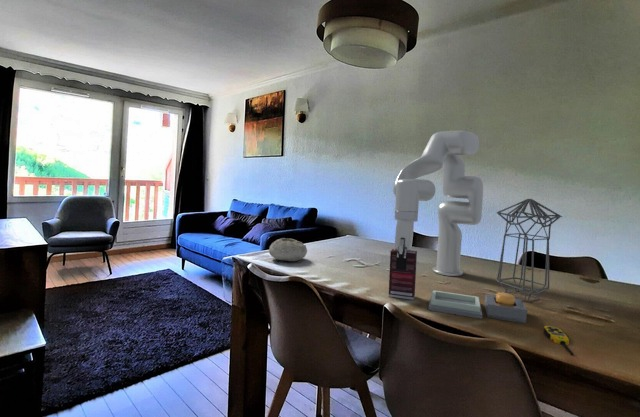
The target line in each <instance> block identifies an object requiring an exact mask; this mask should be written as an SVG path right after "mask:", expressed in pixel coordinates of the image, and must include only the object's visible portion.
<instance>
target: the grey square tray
mask: <svg viewBox="0 0 640 417" xmlns="http://www.w3.org/2000/svg"><path fill="white" fill-rule="evenodd" d="M429 299H430V300H429V303H428V311H433V312H438V313H445V314H451V315H455V314H456V315H455V316H461V317H469V318H473V319H479V320H482V319H483V312H482V306H481V302H480V297H479V296H476V295H469V294H461V293H456V292H448V291H441V290H434V289H433V290H432V292H431V295H430V298H429Z"/></svg>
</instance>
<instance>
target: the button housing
mask: <svg viewBox="0 0 640 417" xmlns="http://www.w3.org/2000/svg"><path fill="white" fill-rule="evenodd" d="M484 296H485V297H484V310H485V314H486V318H490V319H495V320H501V321H506V322H507V321H508V322H514V323H519V324H527V318H528V317H527V316H528V315H527V314H528V309H527V307H526V306H525V303H524V301H523V300H521V299H522V298H520V299H517V298H515V303H514V306H512V305H505V304H499V303H496V294H495V295H494V294H493V295H492V294H487V293H485V295H484Z"/></svg>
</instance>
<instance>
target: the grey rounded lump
mask: <svg viewBox="0 0 640 417" xmlns="http://www.w3.org/2000/svg"><path fill="white" fill-rule="evenodd" d="M268 253H269V255H270V256H271V257H272V258H273V259H275V260H278V261H283V262H297V261H301V260H302V259H304V258H305V257H306V255H307V253H308V249H307V246H306V244H304V243H303V241H299V240H297V239H294V238H285V237H282V238H279V239H276V240H275V241H273V242H271V244H270V245H269V250H268Z"/></svg>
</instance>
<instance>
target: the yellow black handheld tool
mask: <svg viewBox="0 0 640 417" xmlns="http://www.w3.org/2000/svg"><path fill="white" fill-rule="evenodd" d="M543 334H544V335H545V337H546V336H547V337H546V338H548V339H549V340H550V341H551V342H553V343H555V344H557V343H558V345H561V346H563V347H564V348H565V349H566V350H567V352H568V353H569V354H570V355H571V356H573V355H574V352H573V351H572V350H571V349H570V348H569V347H568V346H569V344H570V337H569V335H568V334H567V333H566V332H565V331H564V330H561V329H560V328H559V327H557V326H553V325H552V326H551V325H544V327H543Z"/></svg>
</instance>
